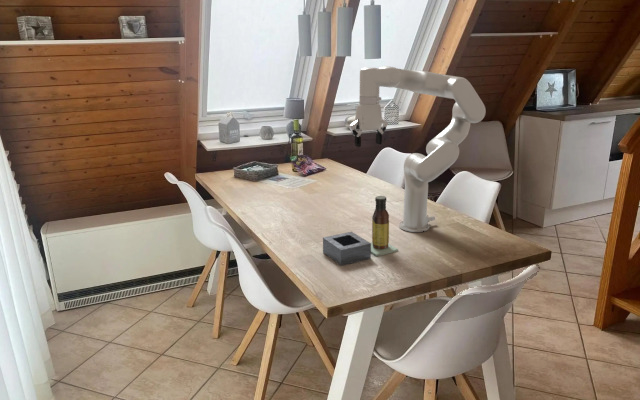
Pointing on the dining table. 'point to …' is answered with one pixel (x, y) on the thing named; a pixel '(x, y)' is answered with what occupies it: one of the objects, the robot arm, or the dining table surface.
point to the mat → (382, 250)
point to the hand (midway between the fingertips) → (368, 145)
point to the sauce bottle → (380, 224)
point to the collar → (346, 248)
